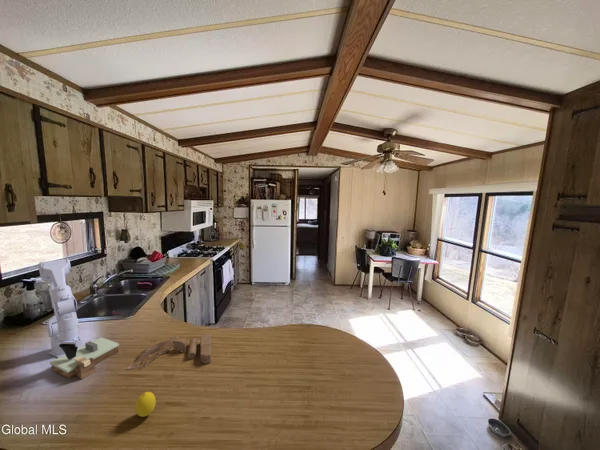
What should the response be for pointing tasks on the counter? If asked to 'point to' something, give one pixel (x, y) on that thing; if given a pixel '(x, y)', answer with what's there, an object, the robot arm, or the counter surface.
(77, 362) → the key
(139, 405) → the lemon
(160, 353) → the wooden fragment
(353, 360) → the counter surface
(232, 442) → the counter surface
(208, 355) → the wooden block set
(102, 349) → the lid
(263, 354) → the counter surface
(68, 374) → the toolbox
